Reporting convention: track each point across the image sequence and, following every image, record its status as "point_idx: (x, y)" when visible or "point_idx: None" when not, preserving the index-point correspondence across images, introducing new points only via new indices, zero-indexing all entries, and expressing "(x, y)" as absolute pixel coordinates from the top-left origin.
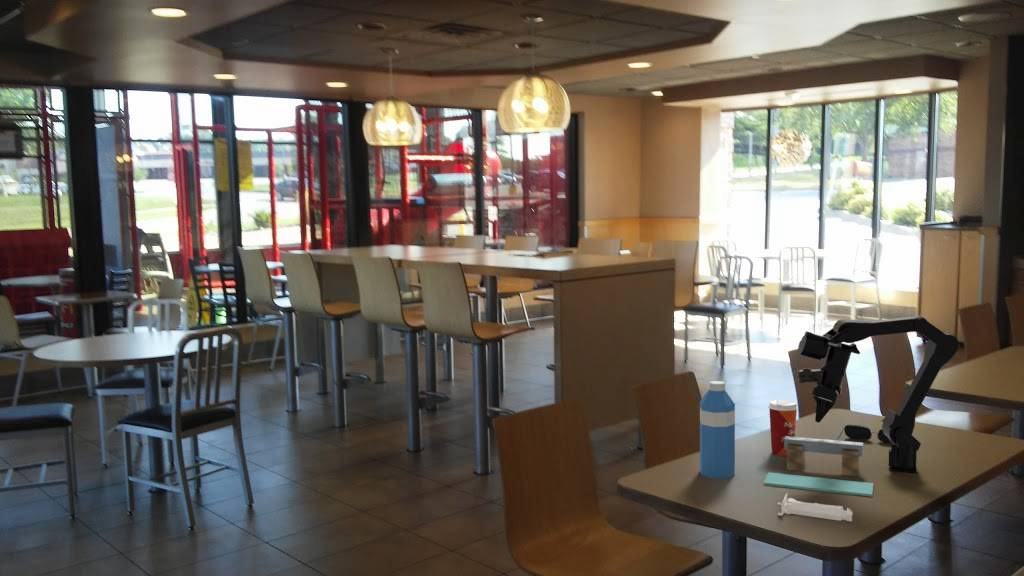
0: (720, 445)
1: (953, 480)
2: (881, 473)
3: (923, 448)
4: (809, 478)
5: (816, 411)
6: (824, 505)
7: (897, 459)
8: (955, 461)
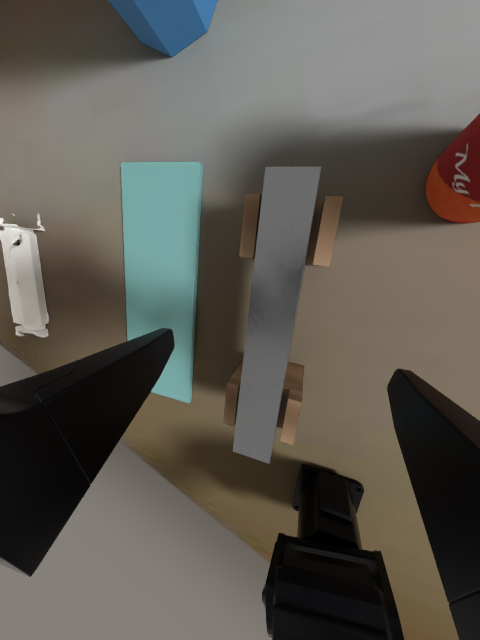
0: None
1: (260, 541)
2: (278, 438)
3: None
4: (182, 275)
5: (96, 356)
6: (16, 296)
7: (305, 502)
8: (409, 615)
